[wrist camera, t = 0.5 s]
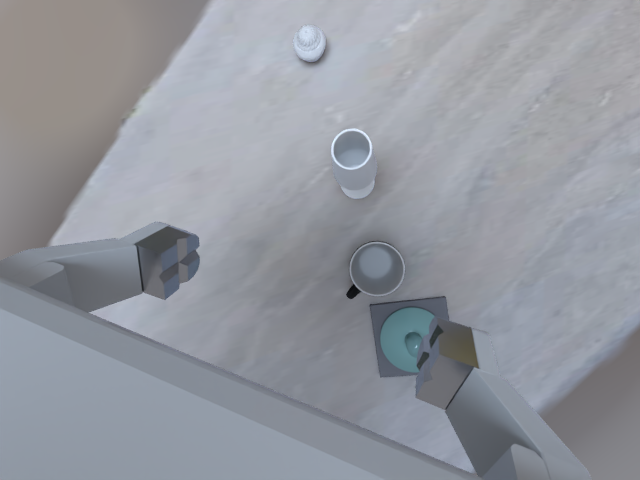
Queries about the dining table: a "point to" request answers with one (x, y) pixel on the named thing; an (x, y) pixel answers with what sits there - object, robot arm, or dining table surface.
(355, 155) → the champagne flute
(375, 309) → the mat
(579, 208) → the dining table surface
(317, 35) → the white ridged rounded piece
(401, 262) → the mug
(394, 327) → the lid
